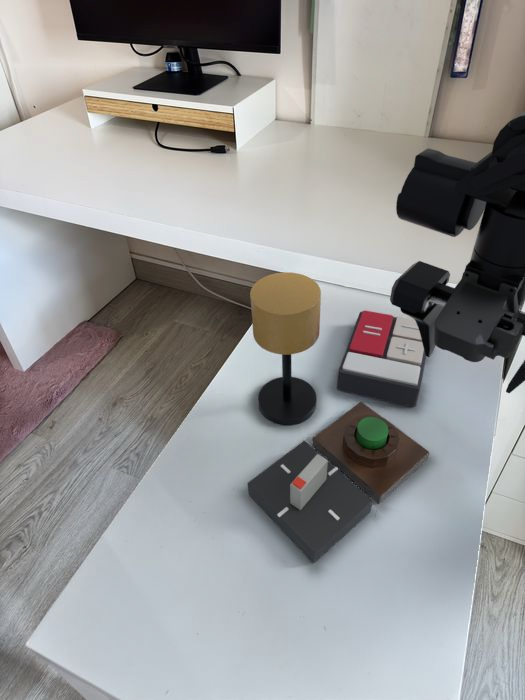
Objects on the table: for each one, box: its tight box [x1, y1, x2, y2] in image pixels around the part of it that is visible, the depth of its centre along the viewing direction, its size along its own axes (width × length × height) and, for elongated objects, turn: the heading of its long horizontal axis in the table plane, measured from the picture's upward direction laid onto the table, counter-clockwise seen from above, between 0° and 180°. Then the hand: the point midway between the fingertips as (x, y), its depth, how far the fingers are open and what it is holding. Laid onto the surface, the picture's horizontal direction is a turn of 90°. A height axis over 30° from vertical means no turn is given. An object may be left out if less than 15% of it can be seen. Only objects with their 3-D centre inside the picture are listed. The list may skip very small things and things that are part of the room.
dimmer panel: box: [246, 440, 374, 564], centre depth 58 cm, size 11×9×3 cm
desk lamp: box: [249, 271, 322, 427], centre depth 63 cm, size 8×8×19 cm
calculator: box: [336, 310, 427, 408], centre depth 73 cm, size 11×4×15 cm
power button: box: [356, 417, 388, 450], centre depth 60 cm, size 4×4×2 cm
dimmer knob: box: [290, 453, 329, 510], centre depth 55 cm, size 5×1×4 cm, turn 140°
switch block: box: [312, 401, 431, 504], centre depth 62 cm, size 11×9×4 cm
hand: (467, 371), depth 56 cm, fingers open, 9 cm apart
